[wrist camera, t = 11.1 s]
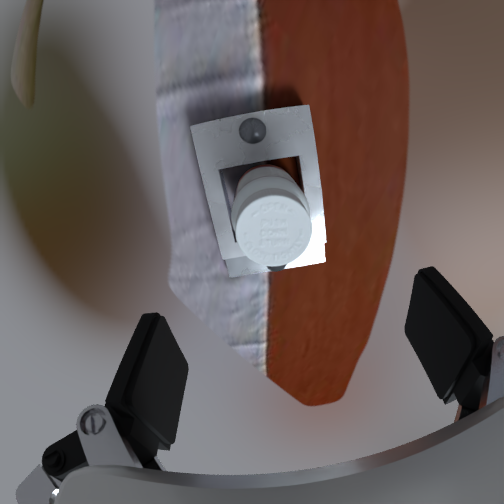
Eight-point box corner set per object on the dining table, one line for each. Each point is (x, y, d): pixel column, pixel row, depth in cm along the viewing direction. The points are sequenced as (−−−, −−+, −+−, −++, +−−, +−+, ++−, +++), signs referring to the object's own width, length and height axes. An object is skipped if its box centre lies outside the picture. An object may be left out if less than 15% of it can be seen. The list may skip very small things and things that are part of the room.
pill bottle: (283, 226, 29) (299, 284, 19) (228, 209, 29) (216, 260, 18) (303, 174, 27) (335, 206, 17) (246, 155, 26) (244, 174, 16)
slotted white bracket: (195, 125, 25) (188, 126, 22) (304, 106, 24) (310, 104, 21) (230, 272, 32) (228, 287, 29) (322, 256, 31) (329, 270, 28)
